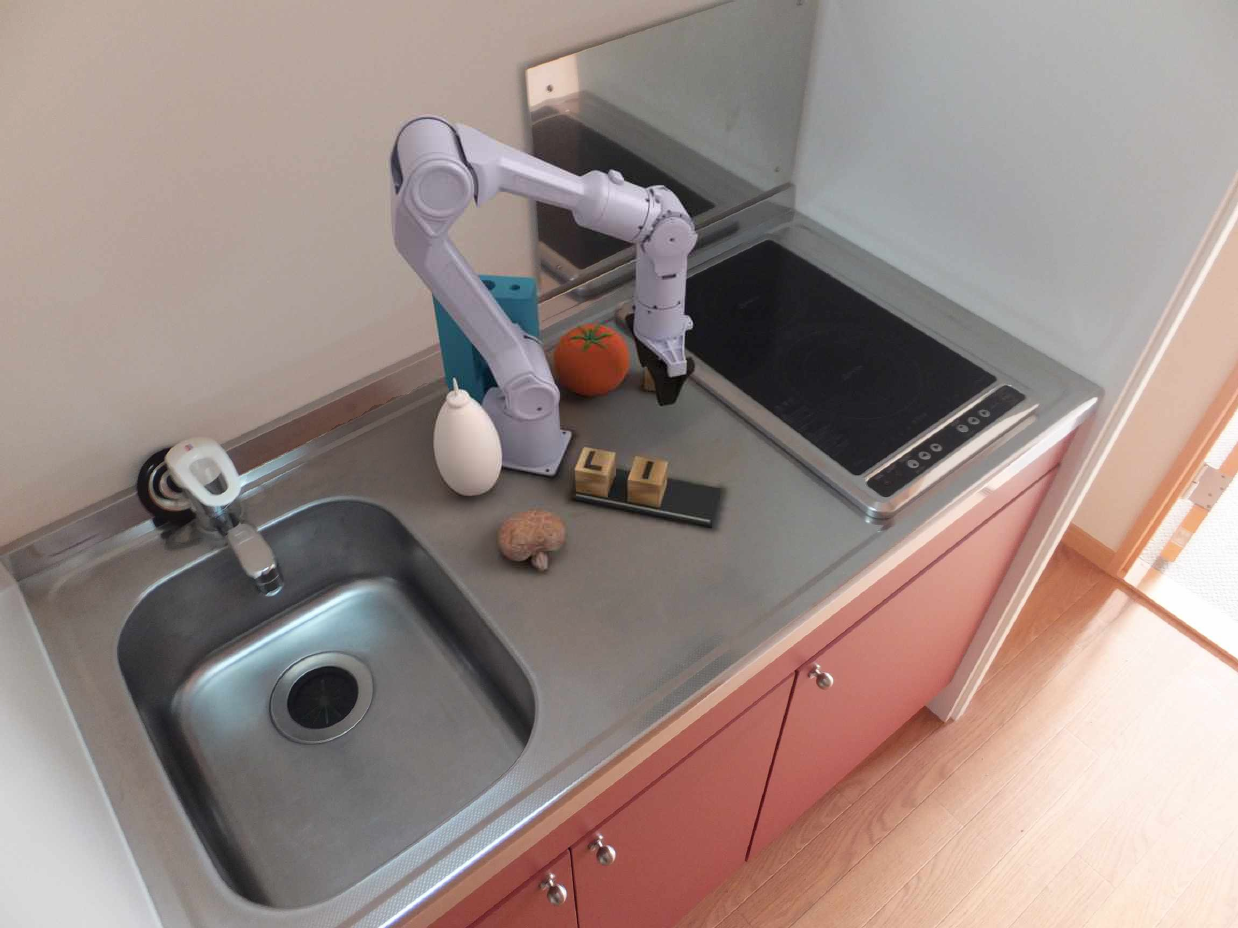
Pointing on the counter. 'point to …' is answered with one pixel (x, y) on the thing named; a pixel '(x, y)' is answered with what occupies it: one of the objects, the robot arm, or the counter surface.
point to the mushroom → (531, 536)
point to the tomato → (591, 359)
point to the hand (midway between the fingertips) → (657, 383)
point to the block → (461, 353)
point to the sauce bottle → (466, 445)
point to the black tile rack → (676, 503)
